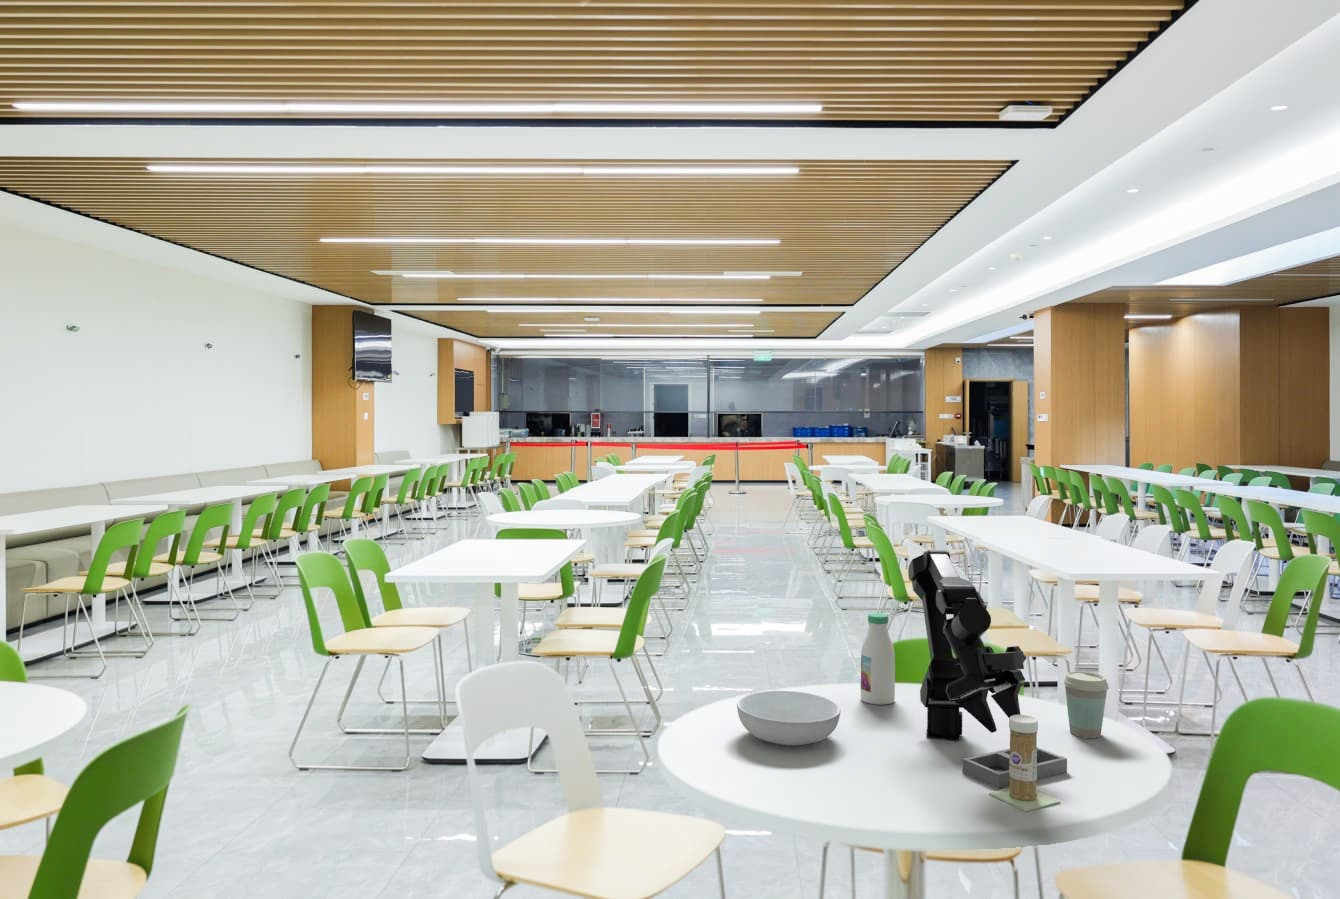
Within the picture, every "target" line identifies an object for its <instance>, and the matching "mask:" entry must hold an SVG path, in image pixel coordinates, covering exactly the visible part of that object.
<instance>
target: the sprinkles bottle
mask: <svg viewBox="0 0 1340 899" xmlns="http://www.w3.org/2000/svg"><path fill="white" fill-rule="evenodd" d="M1008 729H1009V749H1010V758H1009V775H1010V786H1009V788H1010V790H1009V794H1010V795H1011V796H1012V797H1014V798H1016V799H1019V800H1025V801H1028V800H1034V799H1036V797H1037V793H1036V791H1037V780H1038V779H1037V748H1036V747H1037V745H1038V744H1037V743H1038V742H1037V741H1038V740H1037V736H1038V735H1037V734H1038V730H1039V723H1038V719H1037V718H1035V717H1033V716H1031V715H1027V714H1021V715H1012V716H1010V718H1008ZM1036 779H1037V780H1036Z"/></svg>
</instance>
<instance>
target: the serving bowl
mask: <svg viewBox="0 0 1340 899" xmlns="http://www.w3.org/2000/svg"><path fill="white" fill-rule="evenodd" d="M736 709H737V714H738V718H739V721H740V722H741V724H742V726H743V727H744V728H745V730H747V732H749V734H751V735H752V736H754V737H756V738H758V739H760V740H762V741H766V742H768V743H769V742H770V743H773V744H776V745H780V746H781V745H782V746H790V745H793V746H801V745H808V744H809V745H810V744H813V743H817V742H820V741H822V740H825V739H826V738H828V737H829V736H830V735H831V734H832V733H833V732H834V731H835V729H836V728H837V726H838V724H839V720H840V716H841V707H840V705H839V704H838V703H837V702H834V700H832V699H830V698H827V697H825V696H820V695H817V694H813V693H809V692H802V691H793V690H769V691H767V690H765V691H760V692H755V693H754V692H753V693H750V694H747V695H744V696H742V697H740V698H739V699H738V701H737V702H736Z"/></svg>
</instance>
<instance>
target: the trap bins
mask: <svg viewBox="0 0 1340 899" xmlns="http://www.w3.org/2000/svg"><path fill="white" fill-rule="evenodd" d="M1036 748H1037V779H1036V781H1037V780H1040V779H1045V778H1049V777H1053V776H1058V775H1061V774H1065V773H1067V772H1068V758H1066V757H1063V756H1061V755H1058V754H1056V753H1053V752H1052V751H1051V752H1050V751H1047V750H1045V749H1043V748H1039V747H1036ZM1009 758H1010V748H1006V749H1001V750H996V751H992V752H987V753H983V754H980V755H978V754H977V755H974V756H970V757H965V758H962V768H961V769H962V773H963V774H965V775H967V776H970V777H972V778H973V779H976V780H979V781H980V782H983V783H985V784H988V785H990V786H991V787H994V788H997V789H998V790H1001V789H1006V788H1010V775H1009Z"/></svg>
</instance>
